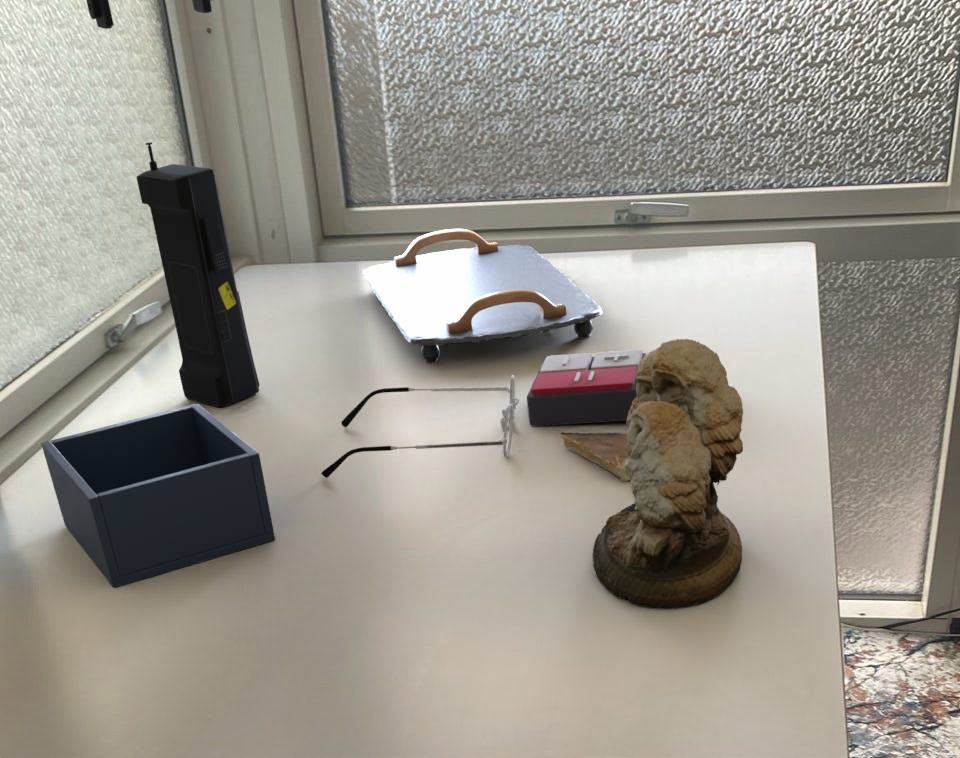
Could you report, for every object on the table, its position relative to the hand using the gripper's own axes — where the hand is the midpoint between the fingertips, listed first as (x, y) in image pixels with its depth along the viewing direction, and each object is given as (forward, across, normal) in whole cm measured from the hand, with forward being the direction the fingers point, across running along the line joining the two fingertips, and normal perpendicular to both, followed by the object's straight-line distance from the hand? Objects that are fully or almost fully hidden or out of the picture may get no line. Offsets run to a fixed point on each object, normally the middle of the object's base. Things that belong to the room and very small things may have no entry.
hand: (155, 19), depth 125 cm
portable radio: (+36, +1, 0) cm, 36 cm away
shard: (+36, -21, +45) cm, 61 cm away
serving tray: (+36, -35, -6) cm, 50 cm away
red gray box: (+36, -29, +32) cm, 56 cm away
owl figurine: (+36, -14, +63) cm, 74 cm away
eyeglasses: (+36, -10, +29) cm, 47 cm away
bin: (+35, +18, +31) cm, 50 cm away
